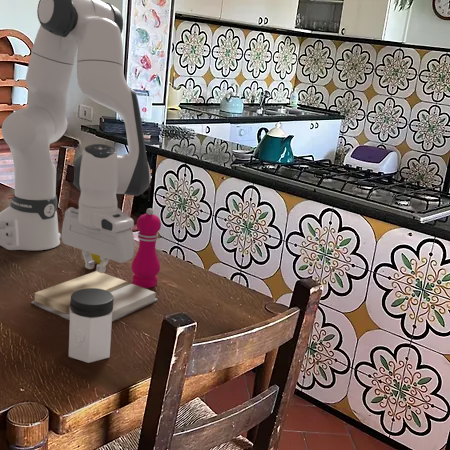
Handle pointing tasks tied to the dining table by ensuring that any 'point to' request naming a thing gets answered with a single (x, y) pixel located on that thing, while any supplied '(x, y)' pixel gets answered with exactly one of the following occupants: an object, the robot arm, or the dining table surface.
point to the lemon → (96, 258)
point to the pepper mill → (146, 251)
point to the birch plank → (76, 289)
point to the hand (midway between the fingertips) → (95, 270)
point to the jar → (90, 324)
